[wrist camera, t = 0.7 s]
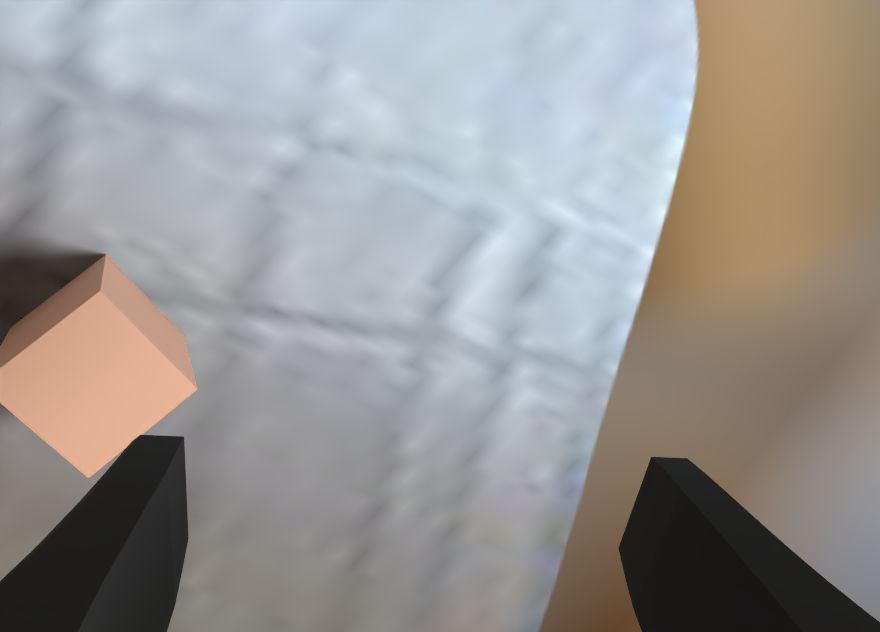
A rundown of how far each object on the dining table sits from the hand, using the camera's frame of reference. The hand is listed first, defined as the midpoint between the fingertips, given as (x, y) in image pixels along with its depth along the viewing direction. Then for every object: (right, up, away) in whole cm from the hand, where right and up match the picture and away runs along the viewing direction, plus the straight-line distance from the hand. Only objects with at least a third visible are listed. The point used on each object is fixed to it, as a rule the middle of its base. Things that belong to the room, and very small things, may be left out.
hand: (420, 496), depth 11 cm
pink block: (-12, +2, +15) cm, 19 cm away
